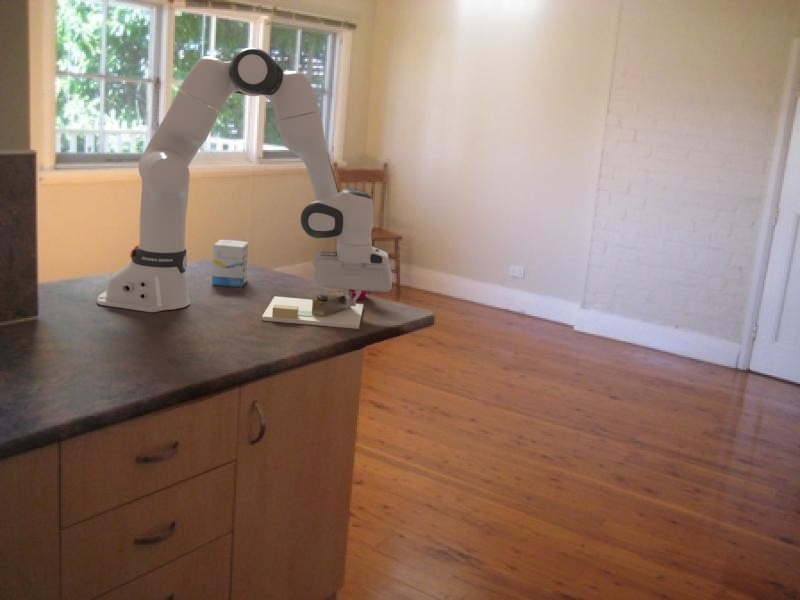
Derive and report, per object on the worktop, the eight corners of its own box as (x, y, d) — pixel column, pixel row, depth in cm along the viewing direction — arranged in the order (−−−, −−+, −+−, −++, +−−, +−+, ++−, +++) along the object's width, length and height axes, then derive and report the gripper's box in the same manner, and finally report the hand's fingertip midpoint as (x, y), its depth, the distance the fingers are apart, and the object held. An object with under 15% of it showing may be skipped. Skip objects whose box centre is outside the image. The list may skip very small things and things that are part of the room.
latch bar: (323, 316, 219) (324, 298, 218) (311, 313, 221) (312, 296, 219) (353, 305, 231) (354, 288, 230) (342, 303, 233) (343, 286, 232)
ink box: (241, 287, 245) (243, 246, 242) (211, 285, 245) (212, 244, 242) (247, 280, 254) (249, 241, 251) (218, 278, 253) (219, 238, 251)
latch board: (261, 320, 216) (262, 306, 215) (274, 299, 235) (275, 287, 235) (358, 328, 216) (359, 315, 215) (363, 307, 236) (364, 295, 235)
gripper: (311, 252, 220) (309, 305, 224) (393, 258, 220) (389, 311, 223) (314, 248, 226) (312, 299, 230) (393, 253, 226) (390, 305, 229)
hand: (351, 305), depth 226 cm, fingers closed
